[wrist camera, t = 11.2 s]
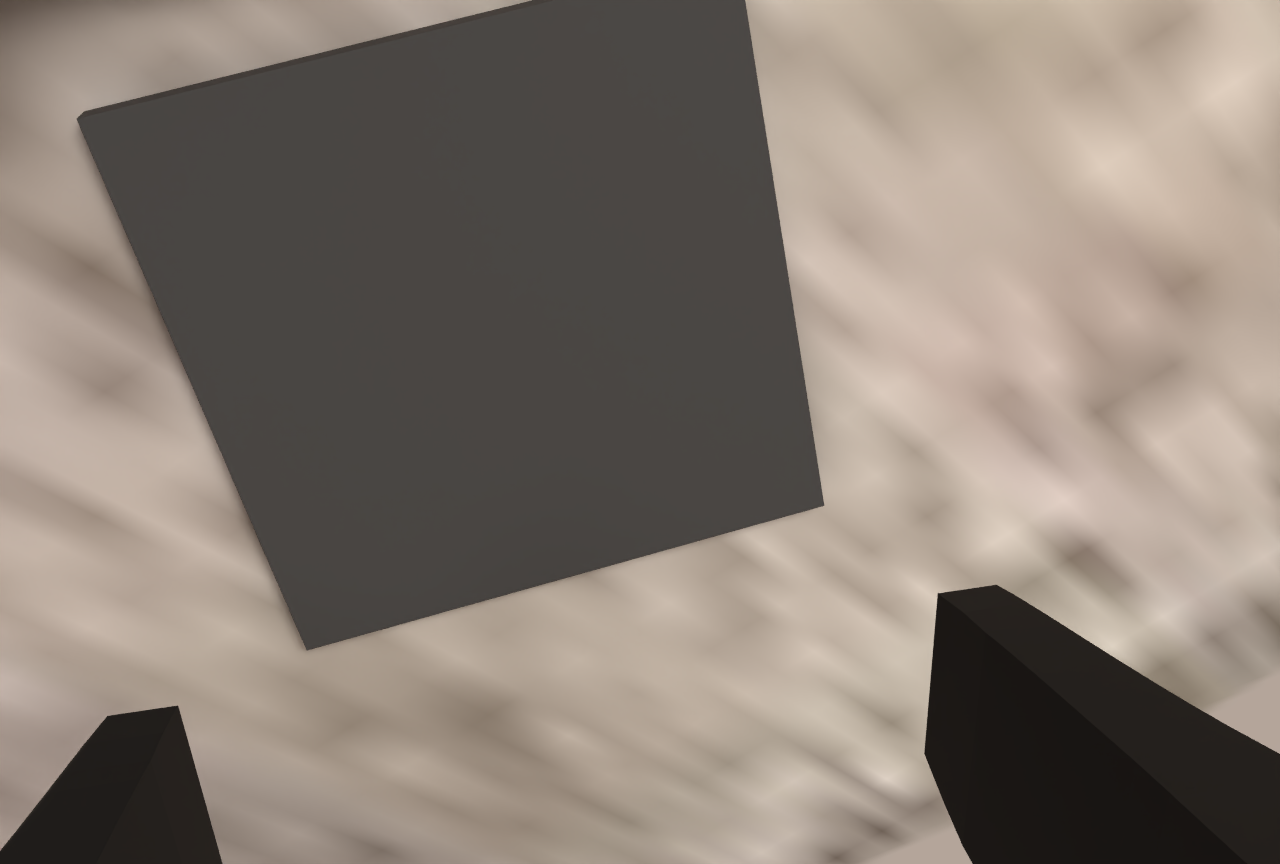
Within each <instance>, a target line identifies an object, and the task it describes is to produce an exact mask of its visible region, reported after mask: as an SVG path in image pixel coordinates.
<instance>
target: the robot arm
mask: <svg viewBox="0 0 1280 864" xmlns="http://www.w3.org/2000/svg"><path fill="white" fill-rule="evenodd" d="M924 754H925V756H926V759H927V761H928V764H929V766H930V769H931V771H932V774H933V776H934V779H935V781H936V784H937V786H938V789H939V791H940V794H941V796H942V799H943V801H944V804H945V806H946V808H947V811H948V813H949V815H950V818H951V820H952V822H953V825H954V827H955V829H956V831H957V834H958V836H959V838H960V841H961V843H962V845H963V847H964V849H965V851H966V852H967V854H968V856H969V858H970V859H971V861H972V863H973V864H1280V754H1279V753H1277V752H1275V751H1273V750H1272V749H1269V748H1268V747H1266V746H1264V745H1262V744H1260V743H1259V742H1257V741H1255V740H1253V739H1251V738H1249V737H1248V736H1246V735H1244V734H1242V733H1240V732H1238V731H1237V730H1235V729H1233V728H1231V727H1229V726H1227V725H1226V724H1224V723H1222V722H1220V721H1219V720H1217V719H1215V718H1214V717H1212V716H1210V715H1208V714H1207V713H1205V712H1203V711H1201V710H1200V709H1198V708H1196V707H1195V706H1193V705H1191V704H1189V703H1188V702H1186V701H1184V700H1183V699H1181V698H1179V697H1178V696H1176V695H1174V694H1173V693H1171V692H1169V691H1168V690H1166V689H1164V688H1163V687H1161V686H1159V685H1158V684H1156V683H1155V682H1153V681H1151V680H1150V679H1148V678H1146V677H1145V676H1143V675H1141V674H1140V673H1138V672H1137V671H1135V670H1133V669H1132V668H1130V667H1129V666H1127V665H1125V664H1124V663H1122V662H1121V661H1119V660H1117V659H1116V658H1114V657H1113V656H1111V655H1109V654H1108V653H1106V652H1105V651H1103V650H1101V649H1100V648H1098V647H1097V646H1095V645H1094V644H1092V643H1090V642H1089V641H1087V640H1086V639H1084V638H1083V637H1081V636H1079V635H1078V634H1076V633H1075V632H1073V631H1071V630H1070V629H1068V628H1067V627H1065V626H1064V625H1062V624H1060V623H1059V622H1057V621H1056V620H1054V619H1053V618H1051V617H1049V616H1048V615H1046V614H1045V613H1043V612H1041V611H1040V610H1038V609H1037V608H1035V607H1033V606H1032V605H1030V604H1028V603H1027V602H1025V601H1024V600H1022V599H1020V598H1019V597H1017V596H1015V595H1014V594H1012V593H1010V592H1008V591H1007V590H1005V589H1003V588H1001V587H999V586H998V585H992V586H986V587H979V588H972V589H965V590H959V591H952V592H945V593H938V598H937V610H936V622H935V634H934V646H933V658H932V670H931V682H930V694H929V705H928V717H927V729H926V741H925V753H924ZM0 864H222V861H221V857H220V854H219V850H218V846H217V843H216V839H215V836H214V832H213V829H212V825H211V821H210V818H209V814H208V811H207V807H206V804H205V800H204V797H203V793H202V789H201V786H200V782H199V779H198V775H197V772H196V768H195V764H194V761H193V757H192V754H191V750H190V747H189V743H188V740H187V736H186V732H185V729H184V725H183V722H182V718H181V715H180V711H179V708H178V706H172V707H166V708H159V709H152V710H145V711H138V712H132V713H125V714H118V715H111V716H107V717H106V719H105V720H104V721H103V722H102V723H101V724H100V726H99V727H98V728H97V729H96V731H95V732H94V733H93V734H92V735H91V737H90V738H89V739H88V740H87V742H86V743H85V744H84V745H83V747H82V748H81V749H80V750H79V752H78V753H77V754H76V755H75V757H74V758H73V759H72V761H71V762H70V763H69V764H68V766H67V767H66V768H65V770H64V771H63V772H62V773H61V775H60V776H59V777H58V779H57V780H56V781H55V782H54V784H53V785H52V786H51V788H50V789H49V790H48V791H47V793H46V794H45V795H44V797H43V798H42V799H41V800H40V802H39V803H38V804H37V805H36V807H35V808H34V809H33V811H32V812H31V813H30V814H29V816H28V817H27V818H26V819H25V821H24V822H23V823H22V824H21V826H20V827H19V828H18V830H17V831H16V832H15V833H14V835H13V836H12V837H11V838H10V840H9V841H8V842H7V843H6V844H5V846H4V847H3V848H2V849H1V851H0Z"/></svg>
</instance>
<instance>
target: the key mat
mask: <svg viewBox="0 0 1280 864" xmlns="http://www.w3.org/2000/svg"><path fill="white" fill-rule="evenodd" d="M77 121H78V123H79V126H80V128H81V130H82V133H83V135H84V137H85V139H86V142H87V144H88V146H89V149H90V151H91V153H92V156H93V158H94V160H95V163H96V165H97V167H98V169H99V172H100V174H101V176H102V179H103V181H104V183H105V186H106V188H107V190H108V193H109V195H110V197H111V200H112V202H113V204H114V206H115V209H116V211H117V213H118V216H119V218H120V220H121V223H122V225H123V227H124V230H125V232H126V234H127V236H128V239H129V241H130V243H131V246H132V248H133V250H134V253H135V255H136V257H137V260H138V262H139V264H140V266H141V269H142V271H143V273H144V276H145V278H146V280H147V283H148V285H149V287H150V290H151V292H152V294H153V296H154V299H155V301H156V303H157V306H158V308H159V310H160V313H161V315H162V317H163V320H164V322H165V324H166V326H167V329H168V331H169V333H170V336H171V338H172V340H173V343H174V345H175V347H176V350H177V352H178V354H179V356H180V359H181V361H182V363H183V366H184V368H185V370H186V373H187V375H188V377H189V380H190V382H191V384H192V386H193V389H194V391H195V393H196V396H197V398H198V400H199V403H200V405H201V407H202V410H203V412H204V414H205V417H206V419H207V421H208V423H209V426H210V428H211V430H212V433H213V435H214V437H215V440H216V442H217V444H218V447H219V449H220V451H221V453H222V456H223V458H224V460H225V463H226V465H227V467H228V470H229V472H230V474H231V477H232V479H233V481H234V483H235V486H236V488H237V490H238V493H239V495H240V497H241V500H242V502H243V504H244V507H245V509H246V511H247V513H248V516H249V518H250V520H251V523H252V525H253V527H254V530H255V532H256V534H257V537H258V539H259V541H260V543H261V546H262V548H263V550H264V553H265V555H266V557H267V560H268V562H269V564H270V567H271V569H272V571H273V573H274V576H275V578H276V580H277V583H278V585H279V587H280V590H281V592H282V594H283V597H284V599H285V601H286V603H287V606H288V608H289V610H290V613H291V615H292V617H293V620H294V622H295V624H296V627H297V629H298V631H299V633H300V636H301V638H302V640H303V643H304V645H305V647H306V650H310V649H314V648H317V647H321V646H324V645H328V644H332V643H335V642H339V641H342V640H346V639H349V638H353V637H357V636H360V635H364V634H367V633H371V632H374V631H378V630H382V629H385V628H389V627H392V626H396V625H399V624H403V623H407V622H410V621H414V620H417V619H421V618H424V617H428V616H432V615H435V614H439V613H442V612H446V611H449V610H453V609H457V608H460V607H464V606H467V605H471V604H474V603H478V602H482V601H485V600H489V599H492V598H496V597H500V596H503V595H507V594H510V593H514V592H517V591H521V590H525V589H528V588H532V587H535V586H539V585H542V584H546V583H550V582H553V581H557V580H560V579H564V578H567V577H571V576H575V575H578V574H582V573H585V572H589V571H592V570H596V569H600V568H603V567H607V566H610V565H614V564H617V563H621V562H625V561H628V560H632V559H635V558H639V557H642V556H646V555H650V554H653V553H657V552H660V551H664V550H667V549H671V548H675V547H678V546H682V545H685V544H689V543H692V542H696V541H700V540H703V539H707V538H710V537H714V536H717V535H721V534H725V533H728V532H732V531H735V530H739V529H743V528H746V527H750V526H753V525H757V524H760V523H764V522H768V521H771V520H775V519H778V518H782V517H785V516H789V515H793V514H796V513H800V512H803V511H807V510H810V509H814V508H818V507H821V506H824V501H823V495H822V488H821V482H820V476H819V469H818V463H817V456H816V450H815V444H814V437H813V431H812V425H811V418H810V412H809V405H808V399H807V393H806V386H805V380H804V373H803V367H802V361H801V354H800V348H799V342H798V335H797V329H796V322H795V316H794V310H793V303H792V297H791V290H790V284H789V278H788V271H787V265H786V259H785V252H784V246H783V239H782V233H781V227H780V220H779V214H778V207H777V201H776V195H775V188H774V182H773V176H772V169H771V163H770V156H769V150H768V144H767V137H766V131H765V124H764V118H763V112H762V105H761V99H760V93H759V86H758V80H757V73H756V67H755V61H754V54H753V48H752V41H751V35H750V29H749V22H748V16H747V10H746V3H745V0H532V1H528V2H524V3H520V4H516V5H512V6H508V7H504V8H500V9H496V10H492V11H488V12H484V13H480V14H476V15H472V16H468V17H464V18H460V19H456V20H452V21H448V22H444V23H440V24H436V25H432V26H427V27H423V28H419V29H415V30H411V31H407V32H403V33H399V34H395V35H391V36H387V37H383V38H379V39H375V40H371V41H367V42H363V43H359V44H355V45H351V46H347V47H343V48H339V49H335V50H331V51H327V52H323V53H319V54H315V55H311V56H306V57H302V58H298V59H294V60H290V61H286V62H282V63H278V64H274V65H270V66H266V67H262V68H258V69H254V70H250V71H246V72H242V73H238V74H234V75H230V76H226V77H222V78H218V79H214V80H210V81H206V82H202V83H198V84H194V85H189V86H185V87H181V88H177V89H173V90H169V91H165V92H161V93H157V94H153V95H149V96H145V97H141V98H137V99H133V100H129V101H125V102H121V103H117V104H113V105H109V106H105V107H101V108H97V109H93V110H89V111H85V112H83V113H82V114H81V115H80V116H79V117H78V118H77Z"/></svg>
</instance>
